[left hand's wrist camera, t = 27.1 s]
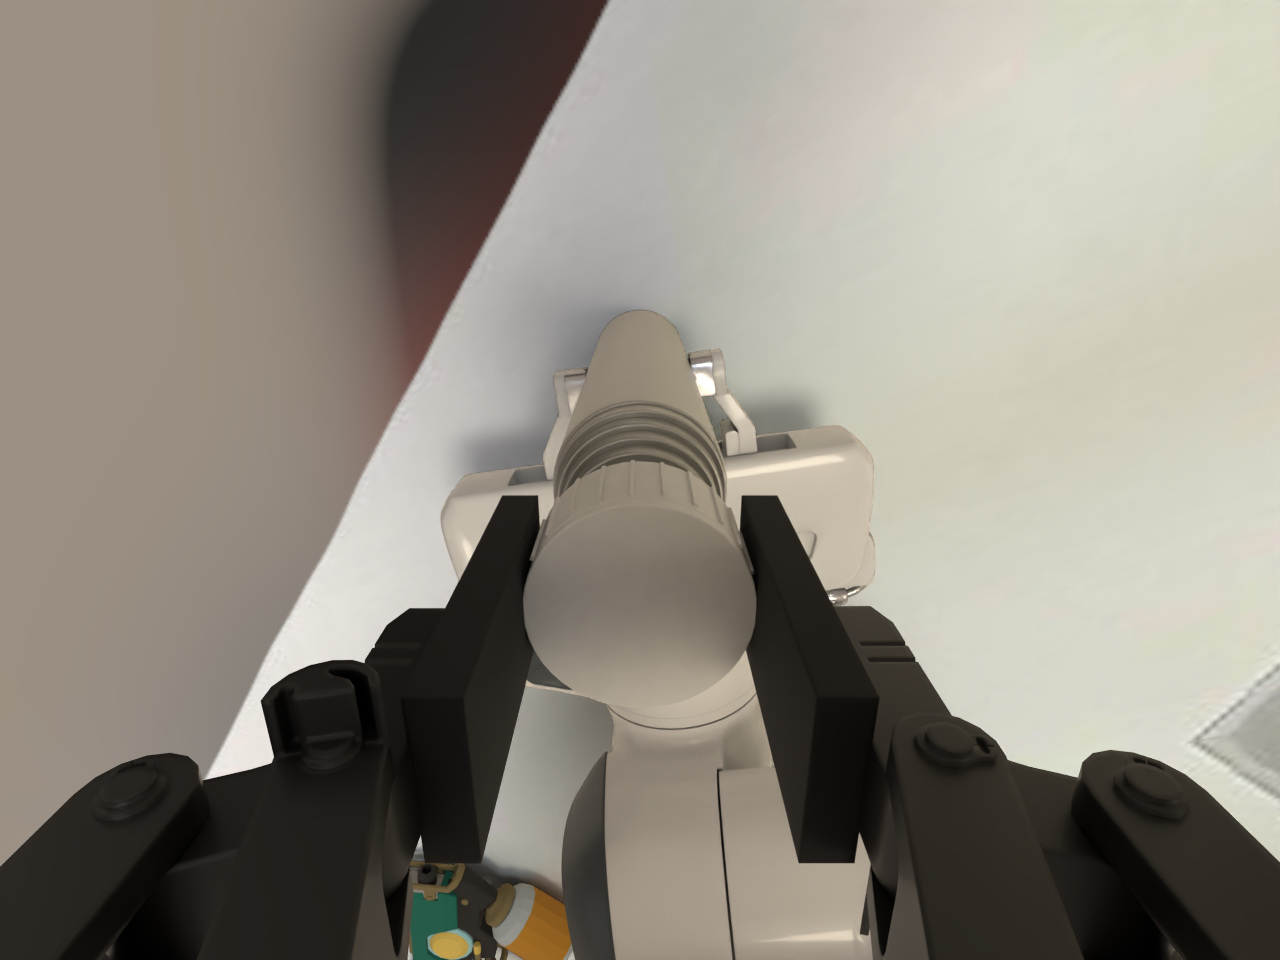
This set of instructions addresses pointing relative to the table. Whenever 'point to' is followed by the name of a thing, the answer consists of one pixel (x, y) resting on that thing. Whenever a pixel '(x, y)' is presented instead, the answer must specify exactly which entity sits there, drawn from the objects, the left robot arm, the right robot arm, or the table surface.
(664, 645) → the cap
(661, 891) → the right robot arm
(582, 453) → the bottle
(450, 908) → the spray gun
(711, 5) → the table surface
